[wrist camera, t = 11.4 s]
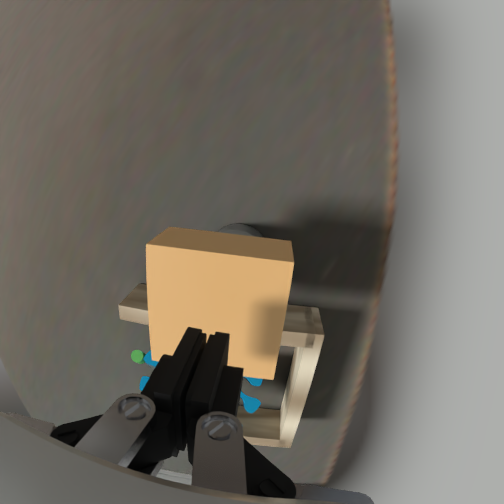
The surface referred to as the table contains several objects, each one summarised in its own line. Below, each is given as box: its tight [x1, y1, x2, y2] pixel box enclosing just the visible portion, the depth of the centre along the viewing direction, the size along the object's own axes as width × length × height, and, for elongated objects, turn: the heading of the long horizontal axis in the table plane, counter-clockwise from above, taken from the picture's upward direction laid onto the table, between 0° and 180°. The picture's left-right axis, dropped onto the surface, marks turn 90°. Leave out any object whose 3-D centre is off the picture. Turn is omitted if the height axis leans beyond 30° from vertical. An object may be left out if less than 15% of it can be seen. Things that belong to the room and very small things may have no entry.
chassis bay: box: [119, 283, 324, 448], centre depth 25 cm, size 13×15×4 cm
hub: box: [146, 227, 294, 380], centre depth 15 cm, size 6×6×3 cm
